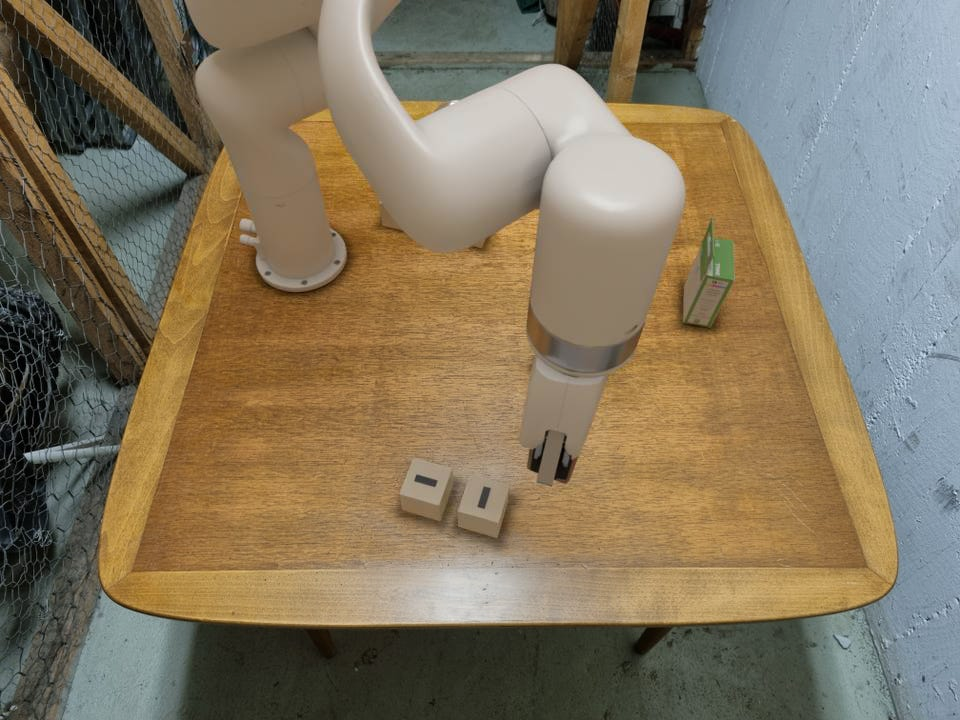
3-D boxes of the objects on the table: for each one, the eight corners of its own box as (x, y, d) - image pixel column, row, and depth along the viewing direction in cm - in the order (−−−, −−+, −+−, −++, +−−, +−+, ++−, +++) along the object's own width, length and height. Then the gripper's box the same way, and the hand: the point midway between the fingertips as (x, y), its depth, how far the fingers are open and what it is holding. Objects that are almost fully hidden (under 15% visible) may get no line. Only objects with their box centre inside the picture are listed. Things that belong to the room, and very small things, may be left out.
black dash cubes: (402, 510, 75) (398, 493, 71) (415, 474, 77) (413, 456, 73) (497, 538, 73) (498, 522, 69) (508, 501, 75) (510, 484, 72)
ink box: (711, 329, 90) (745, 259, 79) (681, 324, 90) (711, 254, 79) (712, 290, 94) (744, 219, 83) (683, 285, 94) (711, 214, 83)
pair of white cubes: (382, 225, 100) (378, 202, 96) (392, 205, 103) (389, 182, 99) (481, 248, 98) (482, 225, 94) (490, 227, 100) (491, 204, 96)
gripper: (557, 219, 49) (536, 361, 64) (494, 409, 40) (487, 523, 55) (659, 241, 48) (614, 380, 63) (619, 442, 39) (577, 549, 54)
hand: (555, 446), depth 59 cm, fingers closed on wooden block, 4 cm apart
